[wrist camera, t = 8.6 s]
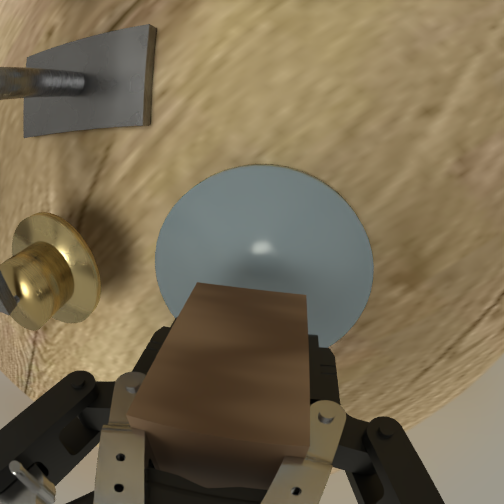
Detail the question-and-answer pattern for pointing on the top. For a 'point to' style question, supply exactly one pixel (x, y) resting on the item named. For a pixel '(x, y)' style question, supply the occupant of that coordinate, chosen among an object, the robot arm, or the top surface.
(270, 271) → the dish
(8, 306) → the balance
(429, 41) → the top surface
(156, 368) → the walnut block
